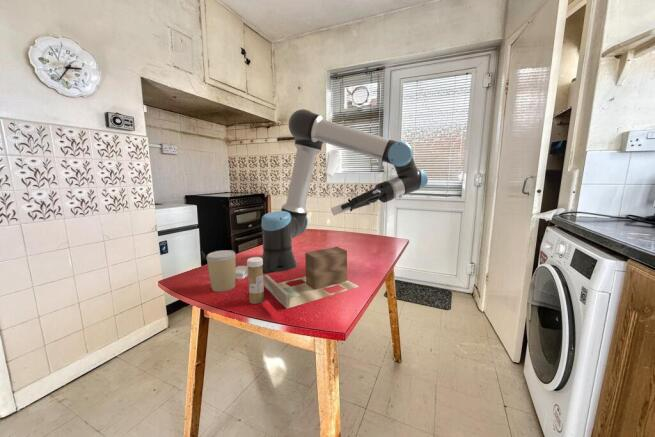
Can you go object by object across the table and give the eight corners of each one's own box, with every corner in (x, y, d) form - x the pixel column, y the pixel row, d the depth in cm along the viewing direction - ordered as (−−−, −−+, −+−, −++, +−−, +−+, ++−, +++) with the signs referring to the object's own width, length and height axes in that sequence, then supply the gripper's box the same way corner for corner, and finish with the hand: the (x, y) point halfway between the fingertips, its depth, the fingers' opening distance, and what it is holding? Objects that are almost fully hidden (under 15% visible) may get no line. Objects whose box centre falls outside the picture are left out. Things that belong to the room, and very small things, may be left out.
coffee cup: (243, 283, 93) (241, 251, 91) (225, 294, 84) (222, 259, 82) (222, 280, 96) (220, 249, 94) (202, 290, 87) (199, 256, 85)
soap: (237, 271, 106) (236, 264, 106) (253, 271, 105) (252, 264, 105) (226, 279, 97) (226, 272, 97) (244, 280, 97) (243, 272, 96)
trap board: (329, 274, 100) (329, 260, 99) (359, 290, 85) (359, 274, 84) (264, 290, 86) (263, 275, 85) (286, 313, 71) (286, 295, 71)
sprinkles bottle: (246, 301, 79) (243, 259, 77) (259, 296, 82) (256, 255, 80) (255, 306, 76) (252, 262, 74) (267, 300, 79) (265, 258, 77)
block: (337, 275, 95) (336, 246, 93) (347, 280, 90) (347, 250, 88) (306, 283, 88) (305, 252, 86) (314, 290, 83) (314, 257, 81)
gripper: (400, 192, 90) (340, 216, 85) (387, 204, 102) (333, 225, 97) (391, 174, 91) (331, 196, 86) (379, 188, 104) (326, 207, 98)
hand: (332, 211), depth 92 cm, fingers closed
